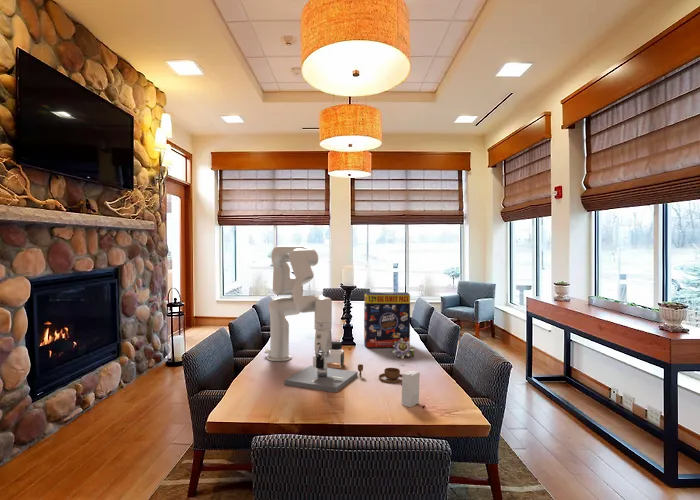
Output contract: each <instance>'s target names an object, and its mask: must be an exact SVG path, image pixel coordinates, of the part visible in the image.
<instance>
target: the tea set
mask: <svg viewBox="0 0 700 500" xmlns="http://www.w3.org/2000/svg"><path fill="white" fill-rule="evenodd" d="M383 370H384V373H380V374H379V375H378V379H379V381H381V382H384V383H387V384H399V383H400V384H402V374H403V373H401V370H400V368H397V367H385V369H383ZM363 371H364V364H363V363H362V364H360V363H359V364H357V372H359V374H358V375H359V378H362V372H363ZM383 377H385V378H386V379H384V378H383ZM400 378H401V379H400Z"/></svg>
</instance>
